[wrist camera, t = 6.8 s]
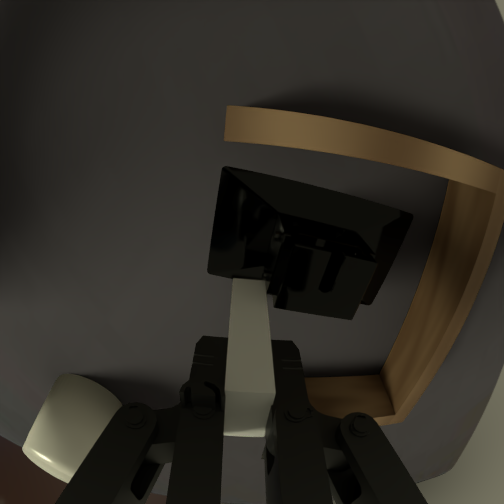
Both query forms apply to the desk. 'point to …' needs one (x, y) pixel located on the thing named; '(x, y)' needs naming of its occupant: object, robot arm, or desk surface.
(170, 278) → the desk surface
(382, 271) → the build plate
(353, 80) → the desk surface
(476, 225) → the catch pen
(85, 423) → the cream cylinder
